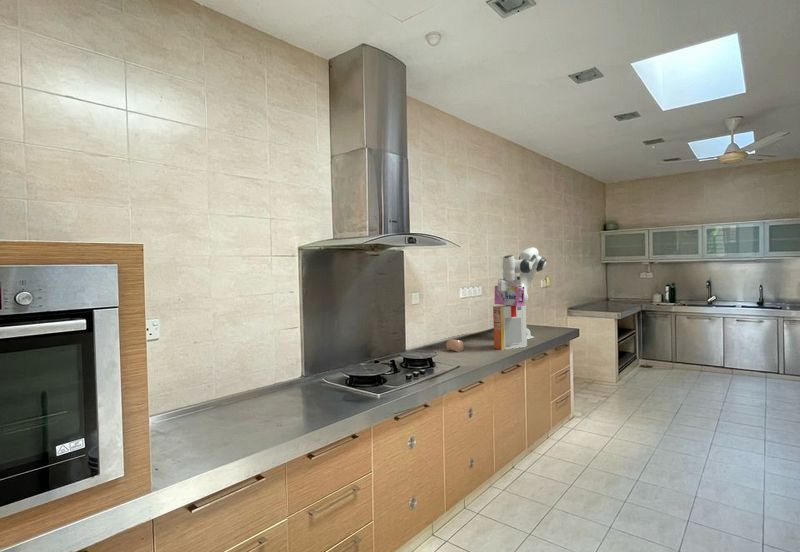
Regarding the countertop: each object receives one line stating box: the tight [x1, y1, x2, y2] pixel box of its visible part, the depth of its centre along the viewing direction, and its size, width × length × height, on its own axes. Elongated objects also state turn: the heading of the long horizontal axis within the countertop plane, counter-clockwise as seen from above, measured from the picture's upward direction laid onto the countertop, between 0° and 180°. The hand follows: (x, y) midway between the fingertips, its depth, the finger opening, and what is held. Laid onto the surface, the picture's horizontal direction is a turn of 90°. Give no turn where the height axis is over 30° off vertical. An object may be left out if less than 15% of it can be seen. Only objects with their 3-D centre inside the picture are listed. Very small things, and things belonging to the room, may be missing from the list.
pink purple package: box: [494, 285, 525, 306], centre depth 306 cm, size 24×8×14 cm, turn 29°
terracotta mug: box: [446, 338, 465, 353], centre depth 302 cm, size 10×8×9 cm
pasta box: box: [492, 304, 528, 351], centre depth 307 cm, size 23×8×30 cm, turn 116°
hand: (509, 297), depth 306 cm, fingers open, 8 cm apart
